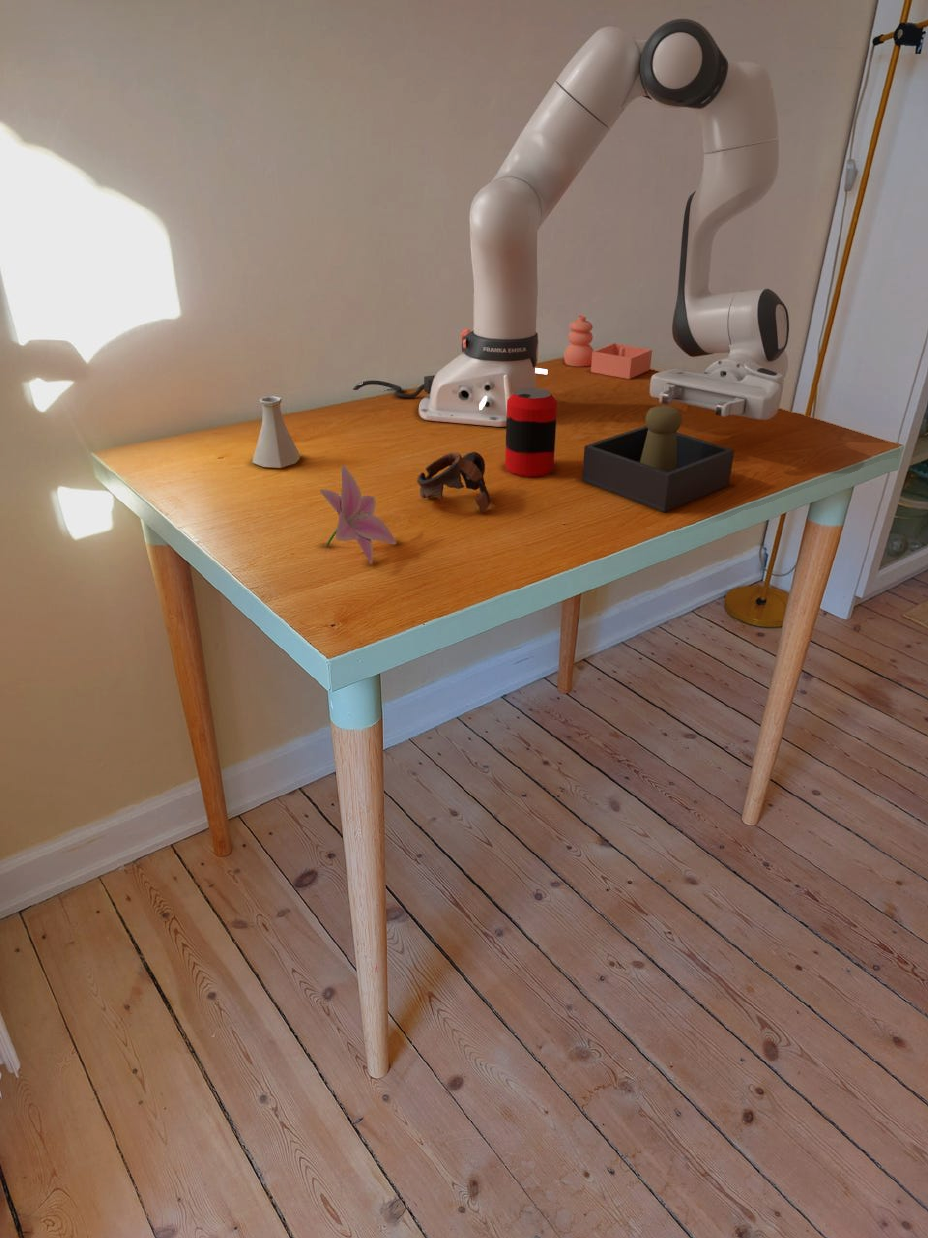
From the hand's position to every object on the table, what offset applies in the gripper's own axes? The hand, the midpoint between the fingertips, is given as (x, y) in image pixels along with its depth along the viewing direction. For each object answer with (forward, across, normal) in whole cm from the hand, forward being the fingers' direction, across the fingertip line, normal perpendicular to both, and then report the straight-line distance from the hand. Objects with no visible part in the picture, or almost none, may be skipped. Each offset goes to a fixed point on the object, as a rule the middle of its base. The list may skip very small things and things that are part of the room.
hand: (691, 404), depth 137 cm
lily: (+54, -18, +10) cm, 58 cm away
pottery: (-43, -41, +10) cm, 60 cm away
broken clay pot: (+34, -18, +10) cm, 40 cm away
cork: (+9, 0, +10) cm, 13 cm away
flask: (+39, -51, +10) cm, 65 cm away
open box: (+9, 0, +10) cm, 14 cm away
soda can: (+16, -18, +10) cm, 26 cm away
